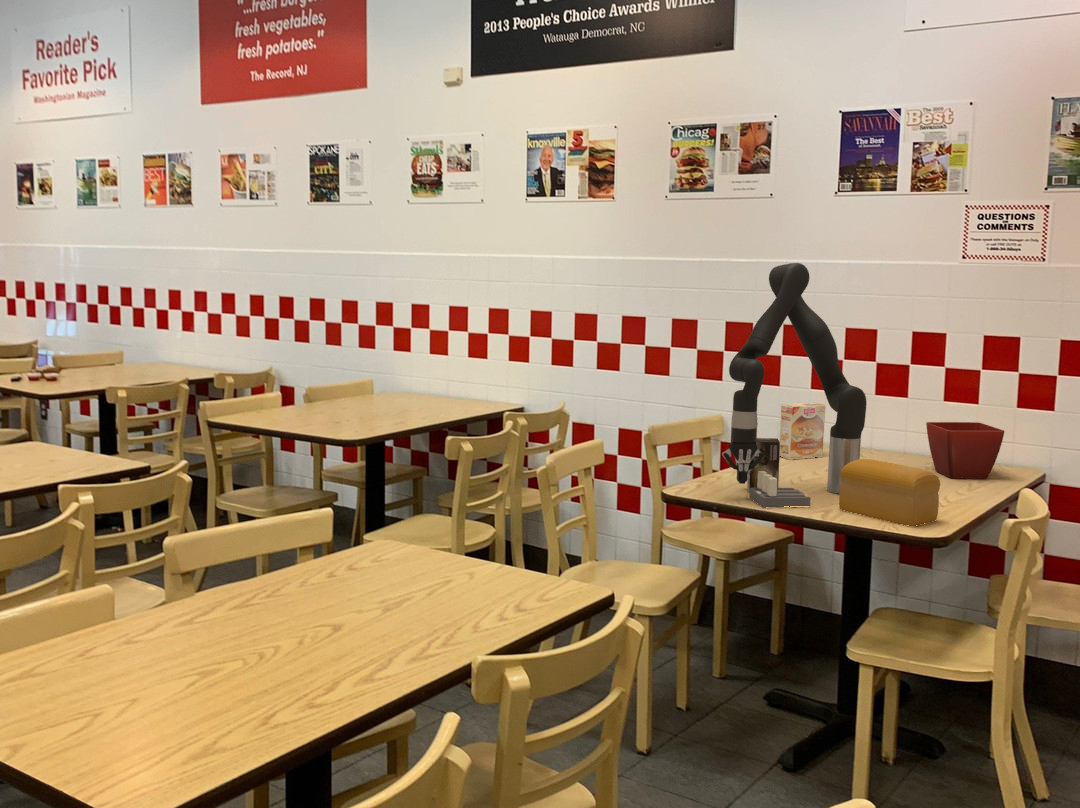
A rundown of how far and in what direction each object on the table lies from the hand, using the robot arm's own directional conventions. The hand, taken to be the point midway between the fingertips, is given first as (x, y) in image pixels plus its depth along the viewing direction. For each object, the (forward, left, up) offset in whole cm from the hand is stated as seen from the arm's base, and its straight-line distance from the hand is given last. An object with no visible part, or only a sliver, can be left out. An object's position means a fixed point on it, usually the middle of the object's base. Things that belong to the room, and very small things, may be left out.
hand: (741, 483), depth 315 cm
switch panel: (-10, +5, -5) cm, 12 cm away
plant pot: (-86, -32, -5) cm, 92 cm away
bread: (-36, +21, -5) cm, 42 cm away
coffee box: (-10, -11, -5) cm, 16 cm away
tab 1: (-6, 0, -2) cm, 6 cm away
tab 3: (-6, +9, -2) cm, 11 cm away
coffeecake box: (-42, -65, -5) cm, 78 cm away
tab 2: (-6, +5, -2) cm, 8 cm away
